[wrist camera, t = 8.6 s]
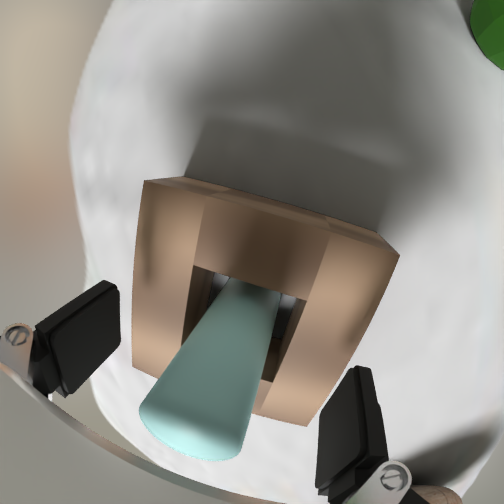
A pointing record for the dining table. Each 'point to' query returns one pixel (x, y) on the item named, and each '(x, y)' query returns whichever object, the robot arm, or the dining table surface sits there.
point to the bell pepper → (489, 28)
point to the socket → (256, 283)
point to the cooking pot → (437, 494)
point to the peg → (214, 376)
